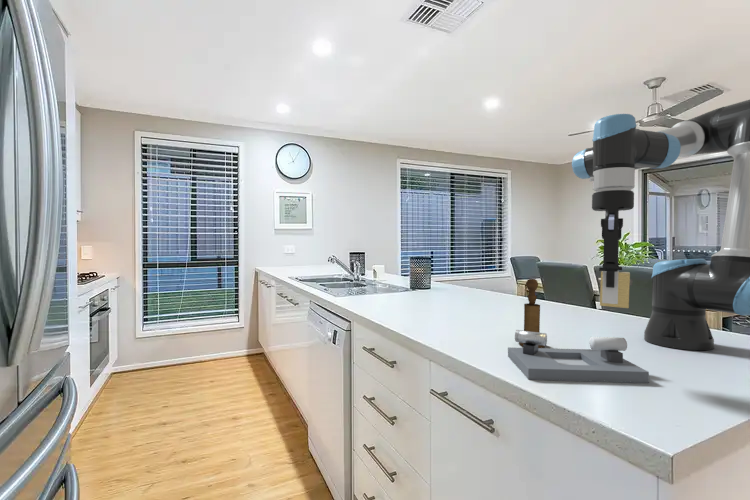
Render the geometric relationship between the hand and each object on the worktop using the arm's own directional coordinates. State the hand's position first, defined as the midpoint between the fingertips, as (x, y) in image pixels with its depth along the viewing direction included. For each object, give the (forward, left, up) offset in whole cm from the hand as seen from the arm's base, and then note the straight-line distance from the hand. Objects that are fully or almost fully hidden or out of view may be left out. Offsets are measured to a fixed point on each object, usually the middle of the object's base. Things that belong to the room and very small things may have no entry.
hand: (610, 301), depth 81 cm
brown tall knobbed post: (+9, -22, -15) cm, 28 cm away
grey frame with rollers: (+7, -3, -15) cm, 17 cm away
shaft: (+14, -7, -13) cm, 20 cm away
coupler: (-1, 0, -1) cm, 1 cm away
